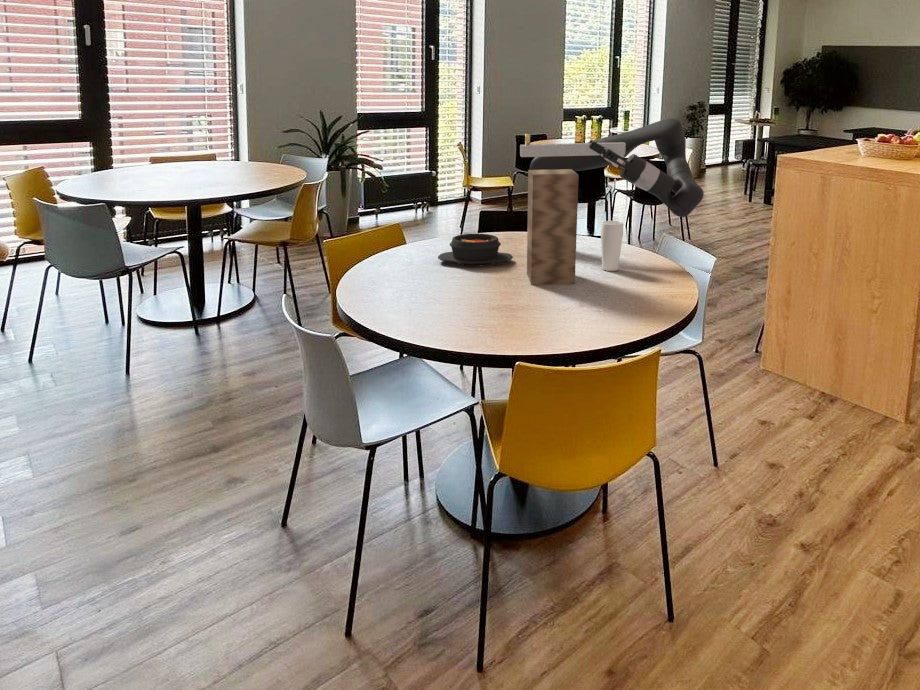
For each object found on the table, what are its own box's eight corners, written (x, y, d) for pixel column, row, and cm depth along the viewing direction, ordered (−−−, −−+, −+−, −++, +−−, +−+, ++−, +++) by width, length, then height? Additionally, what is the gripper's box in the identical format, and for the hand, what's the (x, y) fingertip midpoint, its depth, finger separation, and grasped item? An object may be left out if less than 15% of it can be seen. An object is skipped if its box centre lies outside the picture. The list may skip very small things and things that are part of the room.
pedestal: (531, 284, 236) (532, 175, 225) (526, 274, 248) (528, 169, 238) (574, 283, 236) (578, 174, 226) (568, 273, 248) (571, 169, 238)
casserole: (515, 257, 271) (515, 232, 268) (510, 270, 254) (510, 244, 251) (442, 255, 275) (442, 231, 272) (433, 268, 257) (432, 242, 254)
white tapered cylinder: (597, 267, 255) (599, 220, 250) (617, 266, 256) (620, 220, 251) (602, 272, 249) (604, 224, 244) (623, 271, 249) (626, 224, 244)
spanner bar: (521, 157, 228) (521, 134, 226) (520, 155, 231) (520, 133, 229) (625, 154, 229) (626, 132, 227) (622, 153, 232) (623, 131, 230)
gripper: (641, 158, 238) (592, 130, 235) (652, 164, 224) (601, 133, 221) (627, 180, 240) (579, 152, 237) (638, 187, 226) (587, 157, 223)
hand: (590, 143), depth 229 cm, fingers closed on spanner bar, 3 cm apart
